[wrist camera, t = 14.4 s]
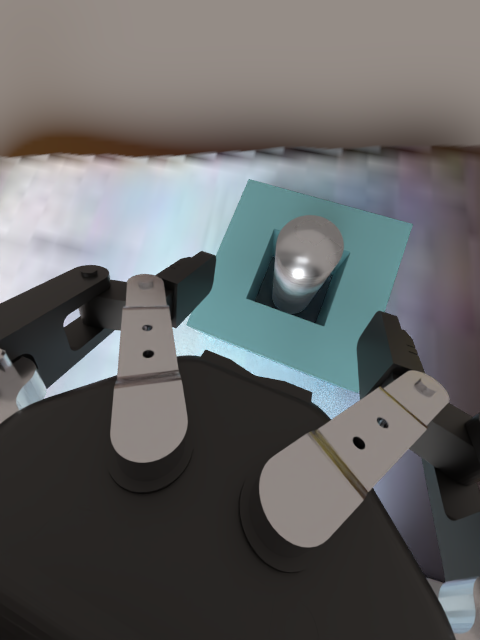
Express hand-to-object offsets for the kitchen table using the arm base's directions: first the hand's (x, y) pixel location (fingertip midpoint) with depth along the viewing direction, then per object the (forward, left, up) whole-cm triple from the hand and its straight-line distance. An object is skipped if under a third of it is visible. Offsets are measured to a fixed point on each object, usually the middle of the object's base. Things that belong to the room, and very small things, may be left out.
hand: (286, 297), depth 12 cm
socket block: (0, +4, -11) cm, 11 cm away
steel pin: (0, +3, -11) cm, 11 cm away
